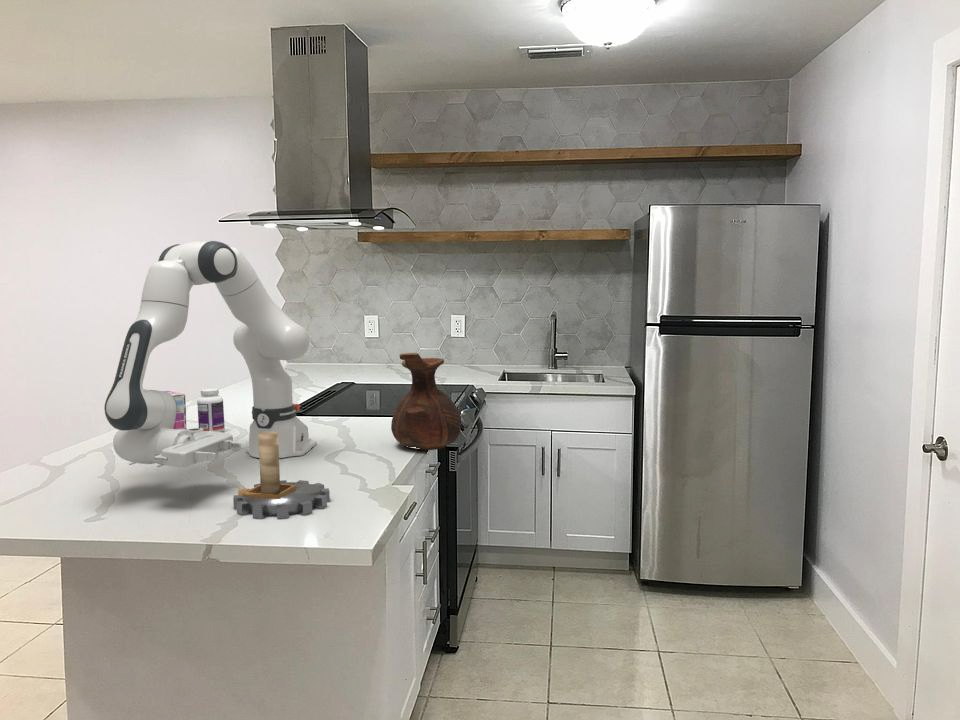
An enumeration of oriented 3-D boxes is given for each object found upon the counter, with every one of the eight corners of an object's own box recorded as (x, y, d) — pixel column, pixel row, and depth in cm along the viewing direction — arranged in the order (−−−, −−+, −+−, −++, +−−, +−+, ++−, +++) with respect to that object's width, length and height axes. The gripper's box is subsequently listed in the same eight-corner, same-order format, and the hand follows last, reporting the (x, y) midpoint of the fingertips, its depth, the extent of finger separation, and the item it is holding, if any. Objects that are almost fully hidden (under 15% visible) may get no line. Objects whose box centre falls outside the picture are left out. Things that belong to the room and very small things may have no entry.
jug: (379, 443, 241) (377, 347, 237) (441, 435, 251) (441, 343, 247) (408, 458, 222) (406, 354, 218) (474, 449, 232) (474, 350, 229)
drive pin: (267, 488, 184) (264, 431, 182) (283, 490, 183) (281, 432, 181) (257, 494, 180) (254, 435, 178) (274, 495, 179) (271, 436, 177)
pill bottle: (224, 429, 260) (223, 387, 258) (224, 434, 252) (222, 390, 250) (199, 431, 257) (197, 388, 255) (198, 436, 250) (196, 392, 248)
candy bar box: (188, 447, 235) (186, 394, 233) (172, 450, 231) (169, 396, 229) (171, 441, 242) (168, 390, 240) (155, 444, 239) (153, 392, 237)
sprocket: (265, 487, 194) (264, 474, 194) (344, 493, 188) (344, 480, 188) (214, 514, 173) (213, 499, 173) (302, 522, 168) (301, 507, 167)
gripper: (147, 444, 176) (201, 448, 173) (202, 426, 196) (250, 429, 192) (149, 471, 177) (202, 476, 173) (203, 450, 196) (251, 454, 193)
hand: (228, 451), depth 183 cm, fingers open, 8 cm apart
